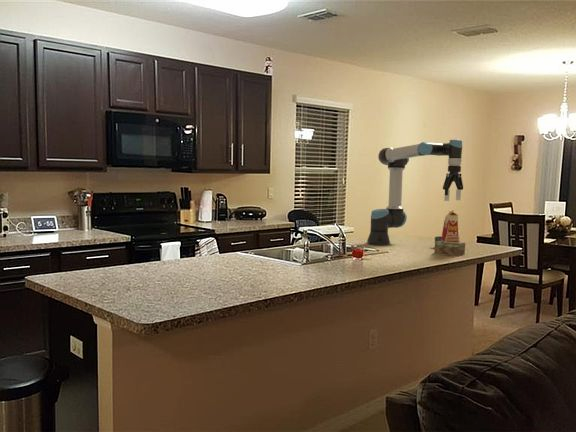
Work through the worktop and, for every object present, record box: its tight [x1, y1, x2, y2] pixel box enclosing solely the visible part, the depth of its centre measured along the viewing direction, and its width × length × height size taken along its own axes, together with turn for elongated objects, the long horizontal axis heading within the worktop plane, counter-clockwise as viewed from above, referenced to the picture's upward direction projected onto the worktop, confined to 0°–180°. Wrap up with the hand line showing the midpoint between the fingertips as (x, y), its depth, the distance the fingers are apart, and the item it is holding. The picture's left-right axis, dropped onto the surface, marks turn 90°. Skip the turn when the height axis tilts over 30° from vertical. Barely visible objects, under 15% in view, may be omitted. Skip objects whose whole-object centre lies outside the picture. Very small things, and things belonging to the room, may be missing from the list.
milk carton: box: [441, 210, 461, 244], centre depth 323 cm, size 9×9×20 cm
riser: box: [433, 241, 467, 257], centre depth 324 cm, size 13×13×7 cm
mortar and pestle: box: [434, 235, 442, 243], centre depth 347 cm, size 11×9×12 cm
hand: (452, 200), depth 321 cm, fingers open, 13 cm apart
